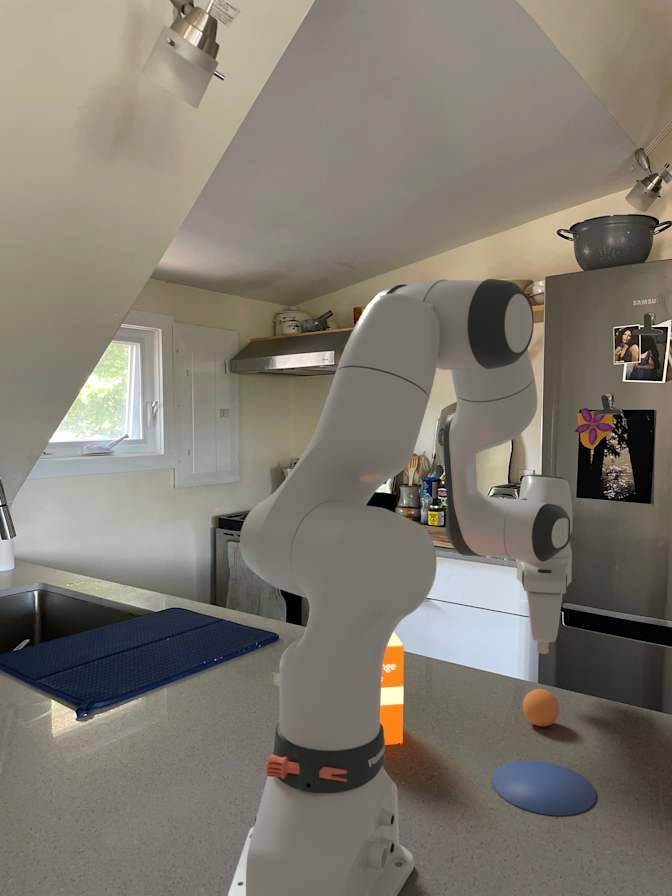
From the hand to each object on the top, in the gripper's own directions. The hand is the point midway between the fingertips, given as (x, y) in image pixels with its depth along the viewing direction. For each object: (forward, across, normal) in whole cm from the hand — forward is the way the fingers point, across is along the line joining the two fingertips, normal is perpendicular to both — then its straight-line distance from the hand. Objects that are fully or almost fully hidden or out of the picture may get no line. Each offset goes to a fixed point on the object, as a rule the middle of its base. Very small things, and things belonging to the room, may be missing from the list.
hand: (542, 650), depth 118 cm
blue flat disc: (+8, +29, 0) cm, 30 cm away
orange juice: (+8, +20, -25) cm, 33 cm away
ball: (+6, +10, 0) cm, 11 cm away
